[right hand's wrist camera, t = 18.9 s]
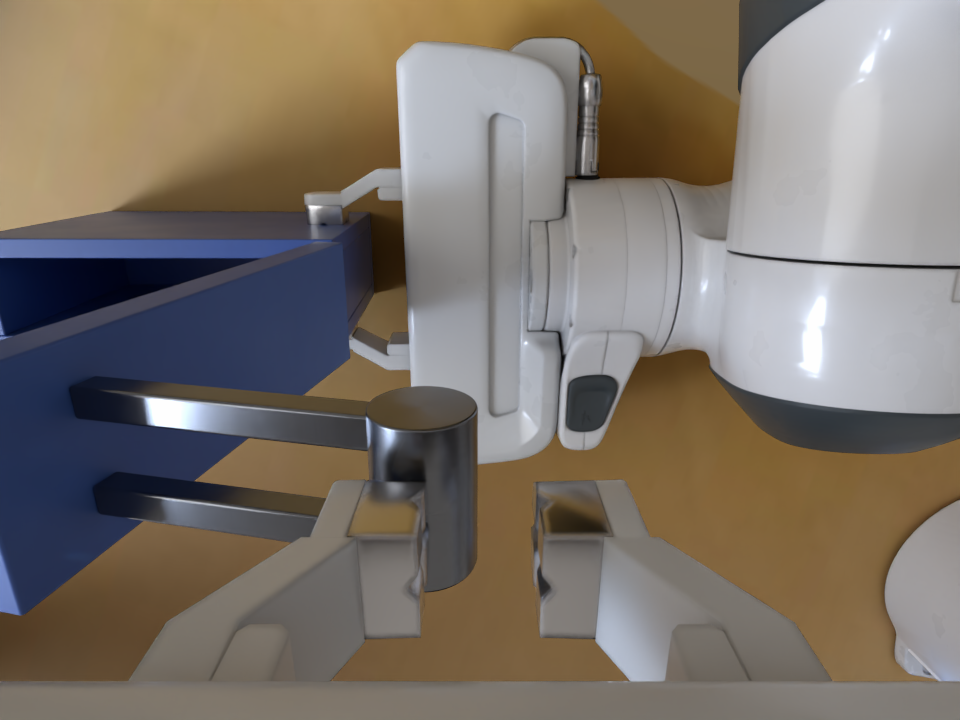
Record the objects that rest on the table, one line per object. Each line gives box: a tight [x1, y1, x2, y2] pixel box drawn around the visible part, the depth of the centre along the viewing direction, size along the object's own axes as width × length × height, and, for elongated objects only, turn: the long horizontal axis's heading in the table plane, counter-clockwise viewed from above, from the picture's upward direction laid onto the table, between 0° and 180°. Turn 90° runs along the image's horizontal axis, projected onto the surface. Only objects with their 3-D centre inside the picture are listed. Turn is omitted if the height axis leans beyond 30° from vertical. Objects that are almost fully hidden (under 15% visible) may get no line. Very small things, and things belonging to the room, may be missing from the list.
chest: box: [0, 211, 374, 340], centre depth 30 cm, size 14×5×11 cm, turn 90°
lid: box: [0, 242, 478, 615], centre depth 17 cm, size 15×5×9 cm
